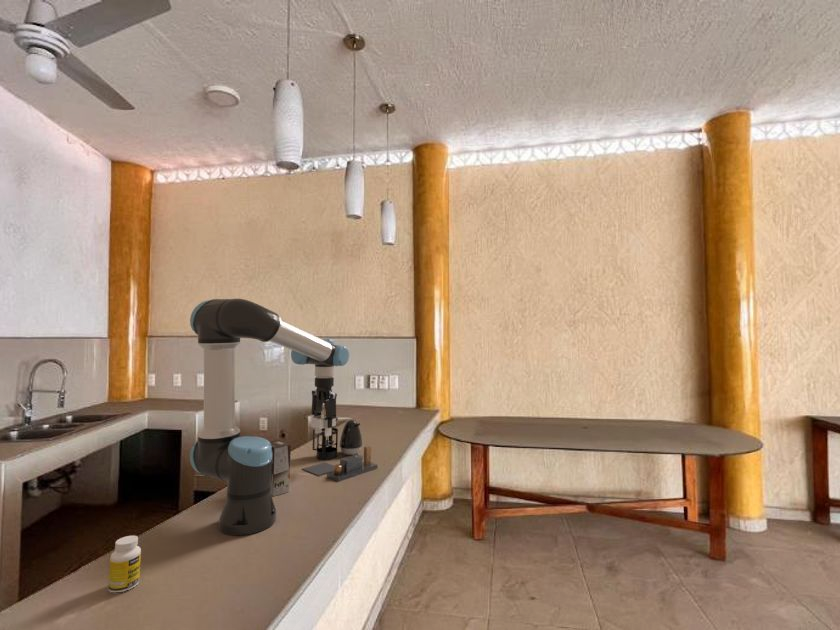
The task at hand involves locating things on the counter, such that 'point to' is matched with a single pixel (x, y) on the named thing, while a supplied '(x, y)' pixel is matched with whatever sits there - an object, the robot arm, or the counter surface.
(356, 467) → the grey stand
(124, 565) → the supplement bottle
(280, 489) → the coffee box
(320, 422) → the white box with knob
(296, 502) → the counter surface
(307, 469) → the mat
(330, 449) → the french press
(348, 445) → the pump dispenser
